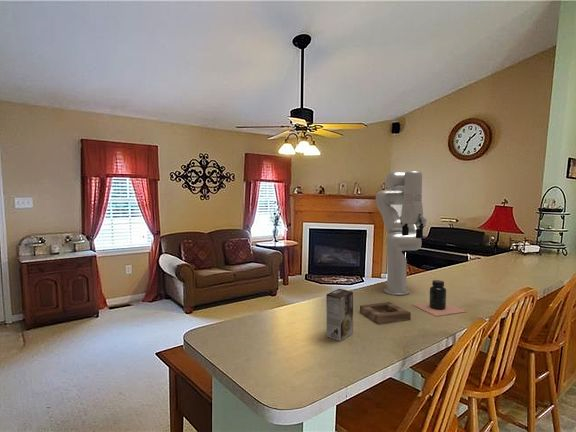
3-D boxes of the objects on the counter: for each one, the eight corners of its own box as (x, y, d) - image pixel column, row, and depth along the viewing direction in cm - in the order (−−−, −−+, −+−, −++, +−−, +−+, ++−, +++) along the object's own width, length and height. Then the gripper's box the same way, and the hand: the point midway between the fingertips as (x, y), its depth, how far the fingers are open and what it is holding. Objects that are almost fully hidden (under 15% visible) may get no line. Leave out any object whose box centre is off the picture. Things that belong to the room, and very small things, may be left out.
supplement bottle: (447, 310, 154) (448, 283, 153) (431, 309, 155) (431, 282, 155) (443, 305, 161) (444, 279, 160) (428, 304, 162) (428, 279, 161)
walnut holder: (359, 312, 154) (359, 305, 154) (389, 308, 159) (389, 301, 158) (378, 324, 140) (378, 316, 139) (410, 319, 144) (410, 312, 144)
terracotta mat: (411, 305, 163) (411, 304, 163) (439, 301, 168) (439, 300, 168) (436, 316, 148) (436, 315, 148) (466, 312, 153) (466, 311, 153)
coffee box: (338, 329, 135) (338, 288, 134) (353, 333, 131) (353, 291, 130) (325, 337, 128) (325, 293, 127) (341, 341, 124) (341, 296, 123)
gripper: (393, 198, 164) (393, 234, 165) (418, 199, 148) (417, 239, 149) (407, 198, 166) (406, 234, 168) (433, 199, 150) (432, 238, 151)
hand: (412, 236), depth 158 cm, fingers open, 9 cm apart
